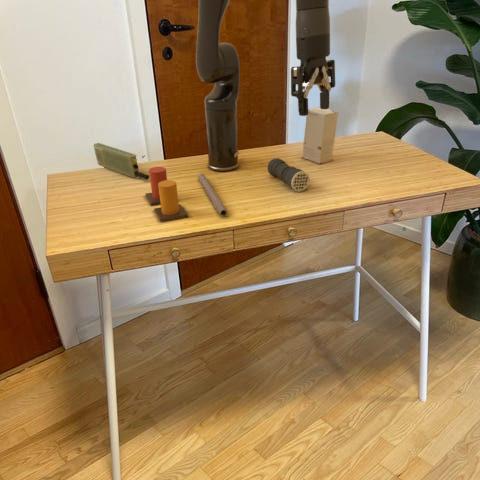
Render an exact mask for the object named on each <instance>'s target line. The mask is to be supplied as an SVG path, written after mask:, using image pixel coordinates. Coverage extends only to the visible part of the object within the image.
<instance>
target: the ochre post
mask: <svg viewBox="0 0 480 480" xmlns="http://www.w3.org/2000/svg"><path fill="white" fill-rule="evenodd" d="M177 185H178V184H177V181H175V180H171V179H167V180H165V181H161V182H159V183H158V188H159V195H160V203H161V204H160V206H159V207H155V208H153V211H154V213H155V215H156V217H157V218H158V220H159V222H160V223H163V222H169V221H174V220H180V219H185V218H189V215H188V213H187V211H186V210H185V208H184V207H183V206H182V204H181V203H180V202H179V195H178V187H177Z"/></svg>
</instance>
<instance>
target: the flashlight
mask: <svg viewBox="0 0 480 480" xmlns="http://www.w3.org/2000/svg"><path fill="white" fill-rule="evenodd" d="M267 171H268V174H269V175H270V176H272V177H273V178H276V179H279V180H281V181H282V182H283V183H284V184H286V185H287V186H288V187H289V188H290V189H291V190H293V191H295V192H298V193H299V192H303V191H304V190H306V189H307V187H309V183H310V175H309V174H308V172H307V171H304V170H302V169H300V168H297V167H295V166H290V165H289V164H288V163H286V161H284V160H283V159H281V158H280V157H277V158H271V160H270V161H268V163H267Z"/></svg>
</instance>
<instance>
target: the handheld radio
mask: <svg viewBox="0 0 480 480" xmlns="http://www.w3.org/2000/svg"><path fill="white" fill-rule="evenodd" d="M93 149H94V154H95V158H96V162H97V165H98V166H100V167H103V168H106V169H109V170H110V171H111V170H112V171H114V172H117V173H119V174H122V175H124V176H128V177H130V178H132V179H133V178H134V179H141V178H142V179H144V180H150V176H149V174H146V173H143V172H140V170H139V165H138V159H137V156H138V155H137V154H135V153H131V152H129V151H126V150H123V149H119V148H116V147H113V146H110V145H106V144H103V143H100V142H96V143H94V144H93Z"/></svg>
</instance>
